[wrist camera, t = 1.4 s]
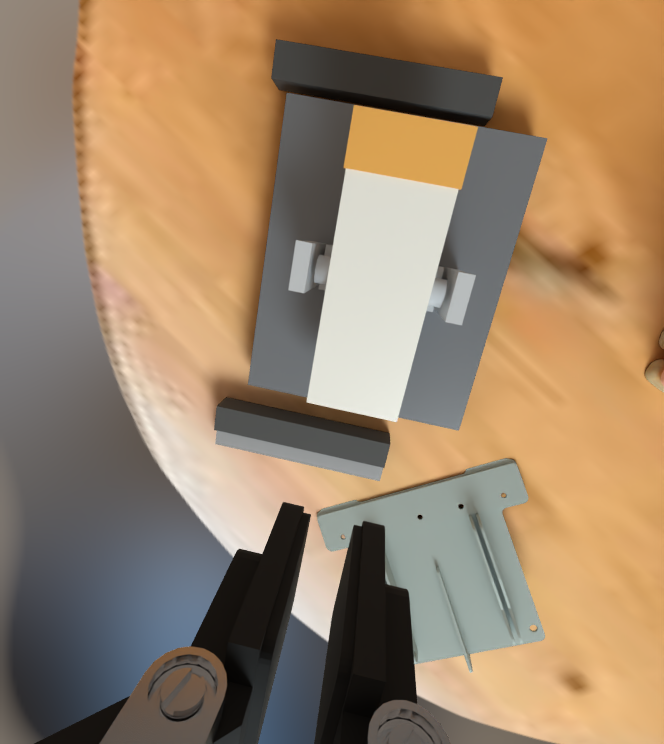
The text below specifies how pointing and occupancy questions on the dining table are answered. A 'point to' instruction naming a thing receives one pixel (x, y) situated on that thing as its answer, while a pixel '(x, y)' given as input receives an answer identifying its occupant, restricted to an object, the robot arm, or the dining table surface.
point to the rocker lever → (385, 256)
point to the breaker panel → (461, 248)
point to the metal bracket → (451, 560)
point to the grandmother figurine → (657, 369)
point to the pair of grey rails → (373, 88)
